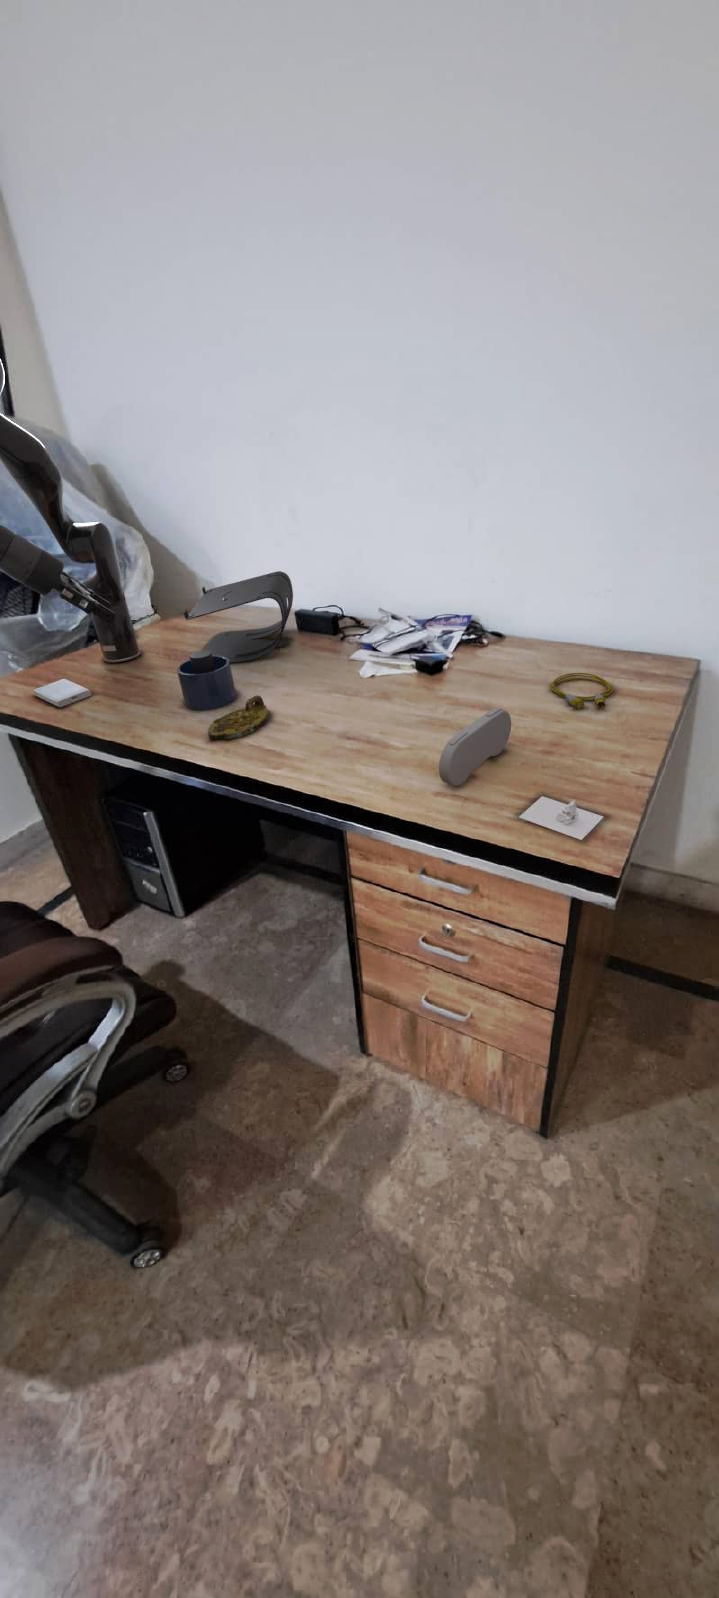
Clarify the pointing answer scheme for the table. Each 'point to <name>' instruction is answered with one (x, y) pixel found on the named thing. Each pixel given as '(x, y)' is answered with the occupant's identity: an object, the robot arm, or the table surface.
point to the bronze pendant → (240, 720)
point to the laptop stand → (266, 586)
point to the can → (207, 685)
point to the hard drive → (62, 692)
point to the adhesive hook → (561, 817)
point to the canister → (202, 662)
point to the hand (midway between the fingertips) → (111, 613)
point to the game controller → (474, 746)
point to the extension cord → (578, 702)
